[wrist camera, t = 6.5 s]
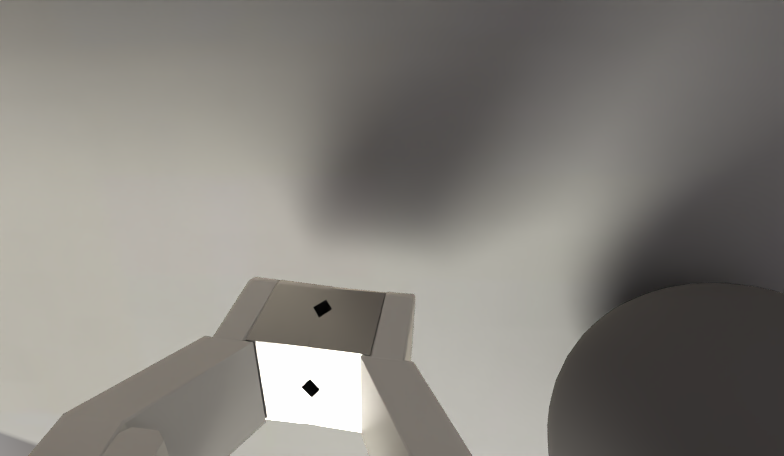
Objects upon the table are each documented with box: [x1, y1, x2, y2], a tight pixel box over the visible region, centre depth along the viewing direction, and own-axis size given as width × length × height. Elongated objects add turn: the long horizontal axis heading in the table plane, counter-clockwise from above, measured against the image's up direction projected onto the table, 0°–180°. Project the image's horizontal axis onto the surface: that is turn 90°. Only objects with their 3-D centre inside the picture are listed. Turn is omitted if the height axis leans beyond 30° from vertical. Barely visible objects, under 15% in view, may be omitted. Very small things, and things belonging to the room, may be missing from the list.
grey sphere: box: [547, 283, 784, 456], centre depth 8 cm, size 6×6×6 cm
